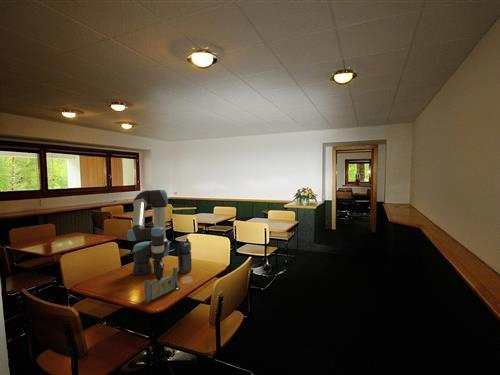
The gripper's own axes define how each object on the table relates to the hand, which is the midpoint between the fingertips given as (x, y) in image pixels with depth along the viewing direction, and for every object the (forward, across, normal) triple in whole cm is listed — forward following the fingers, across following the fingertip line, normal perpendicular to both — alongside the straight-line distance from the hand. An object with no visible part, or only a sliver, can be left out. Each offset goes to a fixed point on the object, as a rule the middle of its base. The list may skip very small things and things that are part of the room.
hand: (158, 287), depth 158 cm
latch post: (+4, +6, -9) cm, 12 cm away
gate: (+3, +4, +1) cm, 5 cm away
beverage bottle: (+5, -22, +30) cm, 37 cm away
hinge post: (+4, +1, +11) cm, 12 cm away
